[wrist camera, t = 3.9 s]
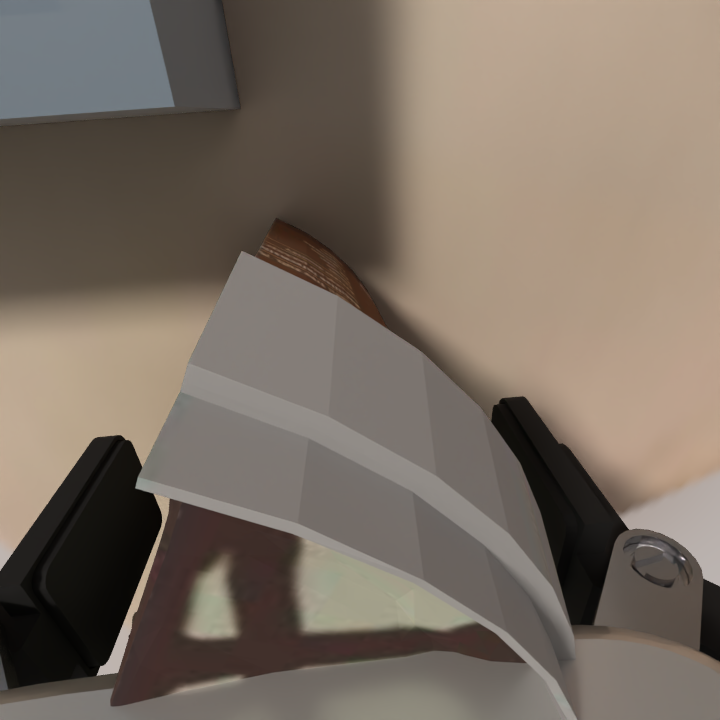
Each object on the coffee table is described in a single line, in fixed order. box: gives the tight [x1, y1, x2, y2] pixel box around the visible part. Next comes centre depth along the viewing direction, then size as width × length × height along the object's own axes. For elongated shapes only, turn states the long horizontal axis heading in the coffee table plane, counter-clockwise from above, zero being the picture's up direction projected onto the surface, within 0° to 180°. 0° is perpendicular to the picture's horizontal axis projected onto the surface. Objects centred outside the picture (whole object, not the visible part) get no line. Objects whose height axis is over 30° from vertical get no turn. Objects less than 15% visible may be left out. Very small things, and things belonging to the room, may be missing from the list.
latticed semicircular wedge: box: [110, 218, 578, 720], centre depth 10 cm, size 12×6×10 cm, turn 156°
